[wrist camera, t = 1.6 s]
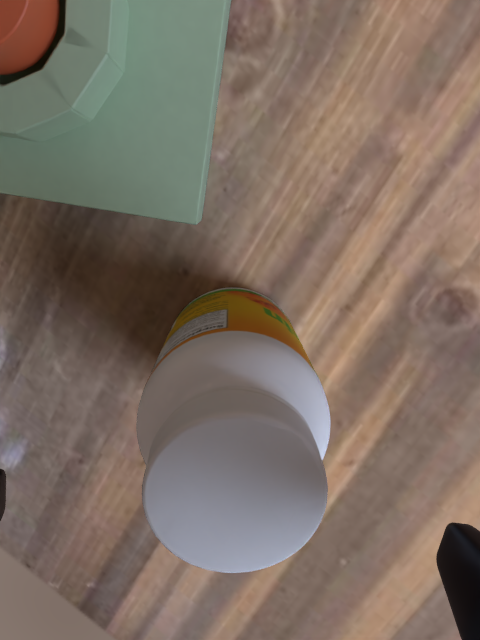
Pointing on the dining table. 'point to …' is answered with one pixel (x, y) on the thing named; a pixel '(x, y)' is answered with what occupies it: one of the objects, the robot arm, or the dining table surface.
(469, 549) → the robot arm
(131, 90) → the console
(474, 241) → the dining table surface
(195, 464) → the supplement bottle
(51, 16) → the button
